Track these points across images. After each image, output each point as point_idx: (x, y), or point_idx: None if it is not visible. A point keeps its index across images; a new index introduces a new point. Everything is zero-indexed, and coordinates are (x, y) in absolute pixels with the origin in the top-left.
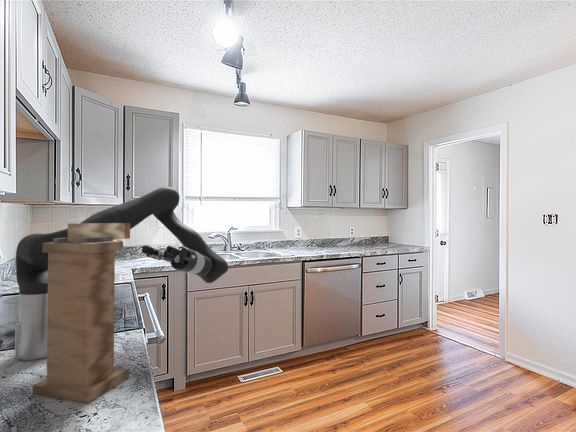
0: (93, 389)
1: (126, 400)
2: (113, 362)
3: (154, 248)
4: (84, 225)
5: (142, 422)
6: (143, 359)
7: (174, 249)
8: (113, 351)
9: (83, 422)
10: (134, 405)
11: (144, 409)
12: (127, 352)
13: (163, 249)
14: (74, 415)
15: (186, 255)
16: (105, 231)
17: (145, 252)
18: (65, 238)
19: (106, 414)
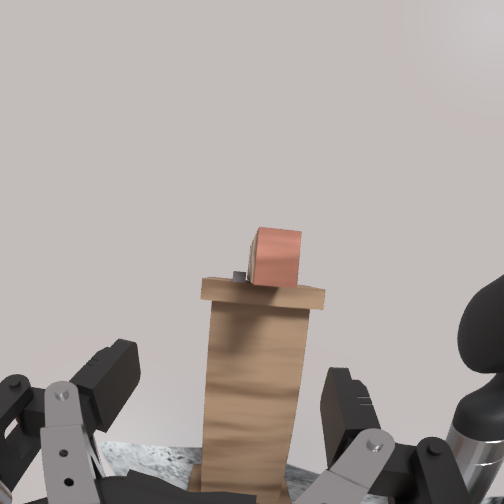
0: (193, 469)
1: (148, 474)
2: (201, 491)
3: (353, 441)
4: (250, 249)
5: (112, 445)
6: None
7: (91, 364)
8: (201, 478)
9: (172, 451)
10: (133, 466)
11: (118, 459)
12: None
13: (299, 498)
14: (190, 458)
15: (11, 450)
16: (251, 259)
17: (322, 412)
18: None
19: (156, 458)
